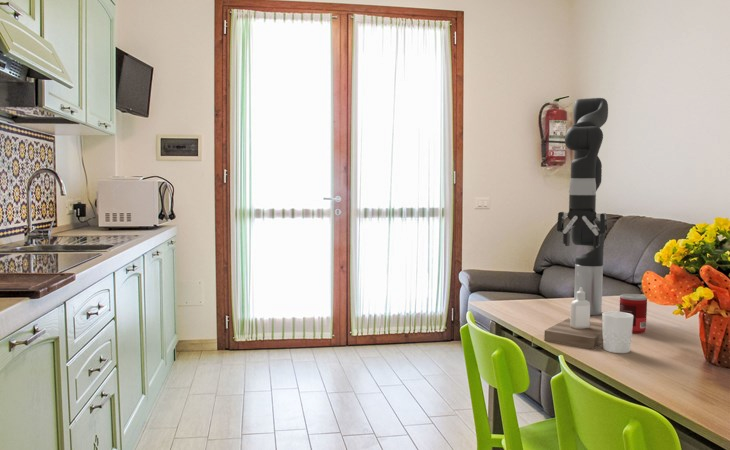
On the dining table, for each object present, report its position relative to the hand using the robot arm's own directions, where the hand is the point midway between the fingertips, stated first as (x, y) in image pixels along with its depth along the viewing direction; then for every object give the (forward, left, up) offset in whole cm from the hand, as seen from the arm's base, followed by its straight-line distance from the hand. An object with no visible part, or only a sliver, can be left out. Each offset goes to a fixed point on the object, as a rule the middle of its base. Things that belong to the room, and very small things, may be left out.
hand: (581, 246), depth 174 cm
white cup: (+12, +14, -27) cm, 33 cm away
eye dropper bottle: (+5, +2, -24) cm, 25 cm away
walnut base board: (+5, +2, -27) cm, 27 cm away
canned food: (-14, +12, -27) cm, 32 cm away
